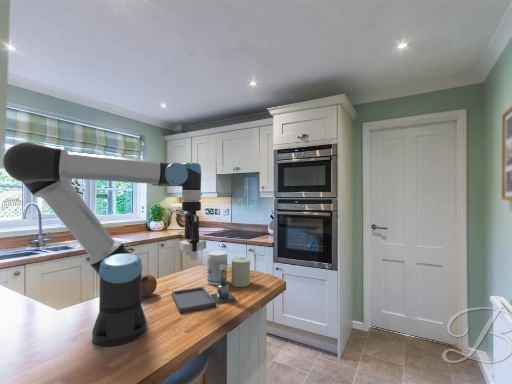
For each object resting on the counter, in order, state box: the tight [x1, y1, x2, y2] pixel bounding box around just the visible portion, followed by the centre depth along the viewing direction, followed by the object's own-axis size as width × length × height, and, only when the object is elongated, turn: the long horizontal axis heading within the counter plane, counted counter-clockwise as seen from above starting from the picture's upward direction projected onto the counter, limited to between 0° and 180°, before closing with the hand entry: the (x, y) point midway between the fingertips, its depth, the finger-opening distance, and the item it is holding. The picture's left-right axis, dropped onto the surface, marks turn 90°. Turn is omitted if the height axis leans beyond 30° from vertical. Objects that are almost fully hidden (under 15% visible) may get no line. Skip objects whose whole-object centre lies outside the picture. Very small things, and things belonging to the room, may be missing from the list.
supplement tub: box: [206, 250, 228, 286], centre depth 130 cm, size 10×10×15 cm
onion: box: [141, 274, 158, 298], centre depth 112 cm, size 10×9×10 cm
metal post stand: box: [210, 264, 236, 305], centre depth 110 cm, size 8×8×14 cm
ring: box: [179, 239, 207, 253], centre depth 108 cm, size 8×10×3 cm
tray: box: [171, 286, 217, 314], centre depth 108 cm, size 14×19×2 cm
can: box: [230, 257, 251, 288], centre depth 129 cm, size 9×9×12 cm
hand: (191, 256), depth 107 cm, fingers closed on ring, 8 cm apart
